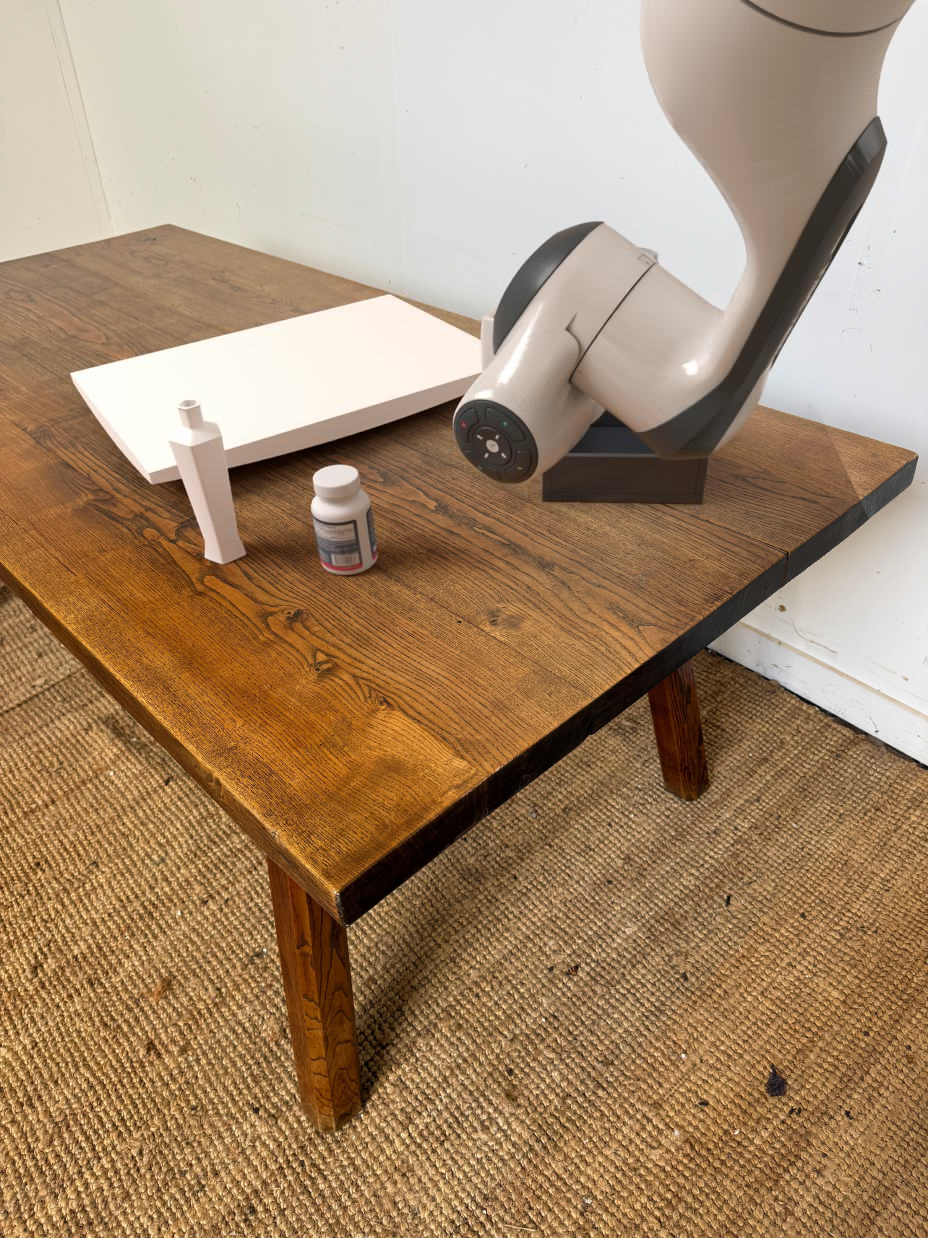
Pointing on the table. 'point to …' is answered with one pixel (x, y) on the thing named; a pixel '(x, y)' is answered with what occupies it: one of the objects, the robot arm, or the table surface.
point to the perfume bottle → (207, 481)
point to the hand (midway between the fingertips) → (628, 311)
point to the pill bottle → (343, 521)
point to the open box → (622, 470)
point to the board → (284, 382)
